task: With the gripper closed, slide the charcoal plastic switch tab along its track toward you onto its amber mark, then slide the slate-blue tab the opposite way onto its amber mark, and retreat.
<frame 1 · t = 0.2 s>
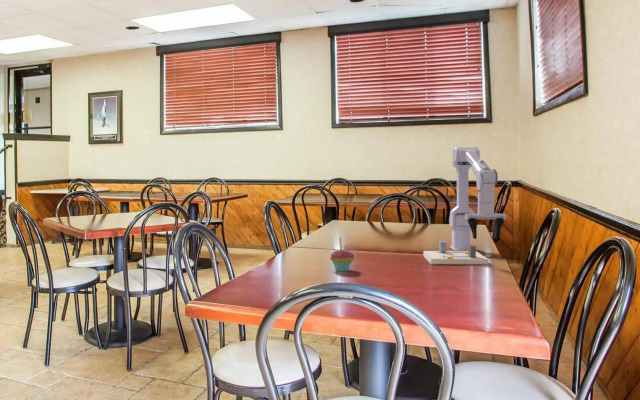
hand: (485, 238, 172), 9 cm above the table, fingers open, 7 cm apart
charcoal tab: (472, 250, 174), point 4 cm above the table, slide at 0.0 cm
switch board: (454, 259, 178), on the table
slate tab: (442, 246, 183), point 4 cm above the table, slide at 0.0 cm
cupcake: (342, 270, 163), on the table
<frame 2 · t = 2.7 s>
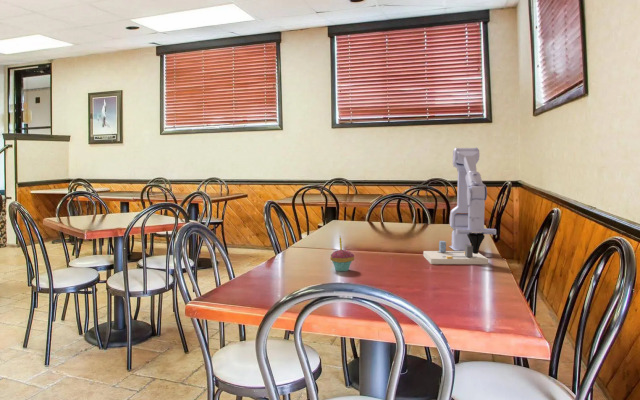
hand: (475, 253, 174), 3 cm above the table, fingers closed
charcoal tab: (468, 250, 174), point 4 cm above the table, slide at 1.2 cm, touching gripper
everything else where it was.
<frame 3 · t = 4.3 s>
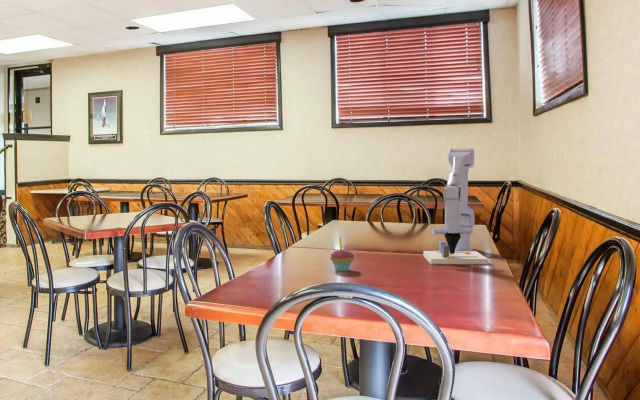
hand: (451, 253, 174), 3 cm above the table, fingers closed
charcoal tab: (445, 250, 174), point 4 cm above the table, slide at 10.0 cm, touching gripper
everything else where it was.
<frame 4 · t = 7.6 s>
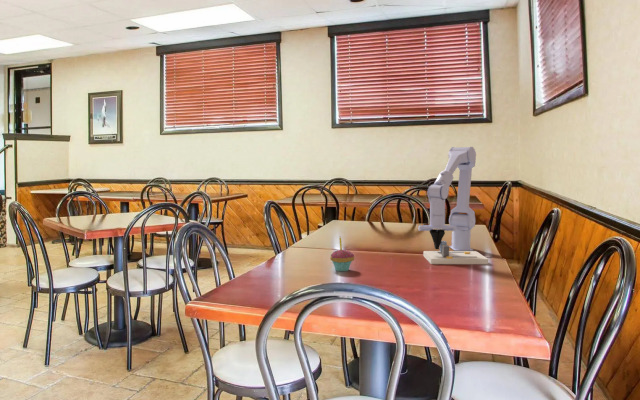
hand: (436, 248, 183), 3 cm above the table, fingers closed
charcoal tab: (445, 250, 174), point 4 cm above the table, slide at 10.0 cm
slate tab: (443, 246, 183), point 4 cm above the table, slide at 0.3 cm, touching gripper
everything else where it was.
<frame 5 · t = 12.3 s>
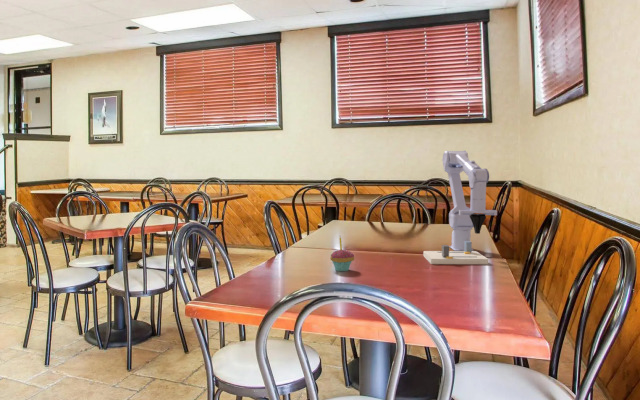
hand: (477, 233, 184), 9 cm above the table, fingers closed
slate tab: (467, 246, 183), point 4 cm above the table, slide at 10.0 cm
everything else where it was.
at the end: charcoal tab slide at 10.0 cm; slate tab slide at 10.0 cm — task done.
